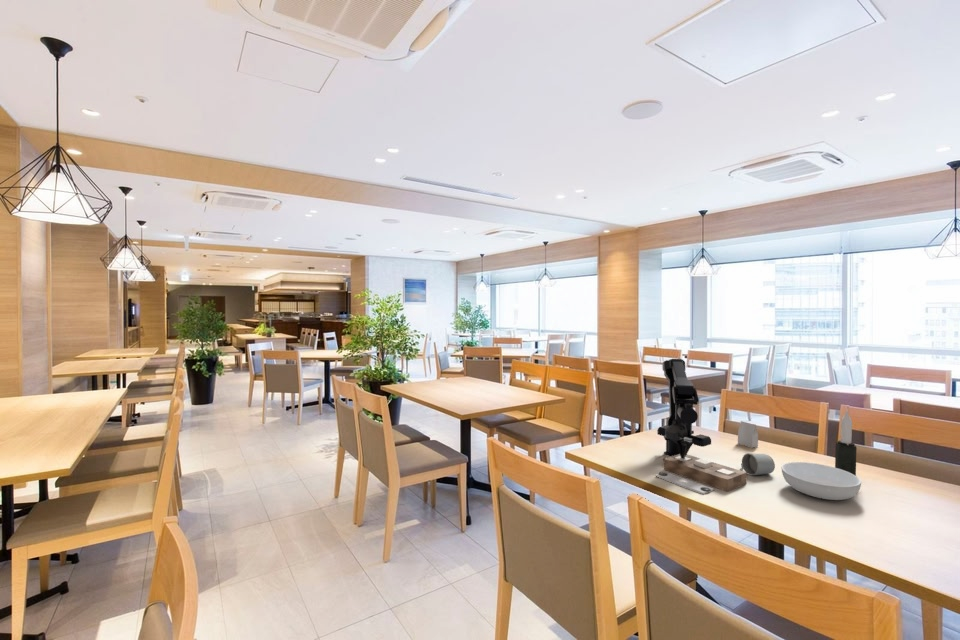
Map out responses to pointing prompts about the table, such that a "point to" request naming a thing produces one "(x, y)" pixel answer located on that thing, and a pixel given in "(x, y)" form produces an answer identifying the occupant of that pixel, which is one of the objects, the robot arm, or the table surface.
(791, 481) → the serving bowl
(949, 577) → the table surface
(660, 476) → the pattern card
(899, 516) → the table surface
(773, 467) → the ceramic mug
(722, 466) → the button board
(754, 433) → the grey angular block
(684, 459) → the button
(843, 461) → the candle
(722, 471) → the button
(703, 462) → the middle button
